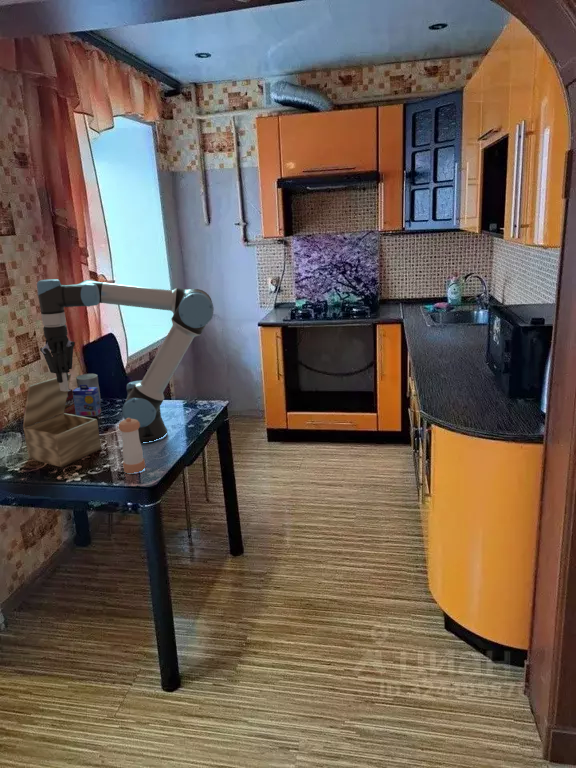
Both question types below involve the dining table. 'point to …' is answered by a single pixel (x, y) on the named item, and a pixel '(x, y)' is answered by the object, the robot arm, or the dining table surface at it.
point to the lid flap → (44, 401)
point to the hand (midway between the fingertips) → (64, 390)
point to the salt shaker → (131, 446)
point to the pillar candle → (88, 381)
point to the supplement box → (69, 404)
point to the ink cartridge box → (86, 401)
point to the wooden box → (62, 439)
